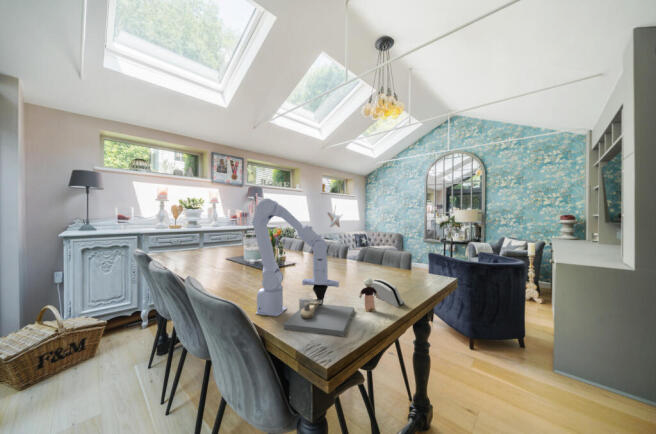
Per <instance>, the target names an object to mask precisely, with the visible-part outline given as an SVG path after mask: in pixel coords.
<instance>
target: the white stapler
mask: <svg viewBox="0 0 656 434" xmlns="http://www.w3.org/2000/svg"><path fill="white" fill-rule="evenodd" d="M372 281H373V283H372V285H371V287H373V288H374V289H375V290H376V291H377V293H378V295H379V297H376V298H377V299H379V300H381V301H382V302H385V303H387V304H390V305H392V306H393V307H396V308H397V307H399V306H400V305H404V306H405V305H406V302H405V300H404V299H402V298H401V295H400V292H399V290H398V287H396V286H395V285H394V284H392V283H391V282H389V281H387V280H385V279H379V278H378V279H377V278H376V279H374V280H372ZM373 295H374V297H375V296H376V295H375V294H374V293H373Z"/></svg>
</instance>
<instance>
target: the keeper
mask: <svg viewBox="0 0 656 434" xmlns="http://www.w3.org/2000/svg"><path fill="white" fill-rule="evenodd" d="M298 302H299V303H298V305H299V308H298V310H300V311H301V309H303V308H304V305H305V304H306V303H313V304H321V303H322V299H312V298H307V297H300V298H299V301H298Z"/></svg>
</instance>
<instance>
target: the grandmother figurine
mask: <svg viewBox="0 0 656 434" xmlns="http://www.w3.org/2000/svg"><path fill="white" fill-rule="evenodd" d="M373 281H374V280H373V279H372V278H371V277H367V278H365V279H364V280H363V283H364V284H363V285H365V287H364V288H362V289H361V290H360V293H359V295H358V297H359V298H360V299H361V298H362V296H364V308H363V309H364V311H365V312H367V313H369V312H370V311H371V312H376V307H375V298H377V297H379V295H378V293H377V291H376V290H375V289H374V288H373V287H371V285H372V283H373ZM373 293H374V294H375V295H376V297H375V296H373Z"/></svg>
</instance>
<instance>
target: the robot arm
mask: <svg viewBox="0 0 656 434" xmlns="http://www.w3.org/2000/svg"><path fill="white" fill-rule="evenodd" d="M273 217H276V218H277V217H278V218H280V219H283V220H284V221H285V222H286V223H288V224H289V225H290V226H291V227H292V228H293V229H294V230H295V231H296V232H297V236H298V238H300V240H302V242H304V243H305V244H306V245H307V246H308V247H311V250H312V252H313V256H312V278H306V279H305V278H304V279H302V286H313V287H312V290H313V292H314V294H315V297H317V299H322V303H321V304H319V305H322V304H323V305H324V299H325V295H326V291H328V287H335V288H339V286H340V281H339V280H333V279H329V277H328V275H329V273H328V257H327V256H328V252H327V251H328V242H327V241H326V240H325V239H324V238H322V235H321V234H318V233H317V232H316V231H315V230H314V227H313V226H309V225H308V224H302V223H301V222H300V221H299V220H298V219H297V218H296V217H295V216H294V215H293V214H292V212H290V211H289V210H288V209H287V208H286V207H284V206H283V205H281V204H279V203H278V202H277V201H275V200H272V199H271V198H263V199H260V202H258V204H257V205H256V206H255V213H254V217H253V220H252V226H253V230H254V235H255V239H256V243H257V247H258V250H259V255H260V259H261V264H262V271H261V274H262V281H261V284H262V287H261V288H260V289H259V290H258V291H257V295H256V312H255V314H256V315H263V316H273V317H279V316H280V315H281V314H282V313H283V312H285V311H286V310H287V309H288V307H286V306H284V299H283V297H284V296H283V293H284V292H283V290H284V289H283V288H284V287H283V286H282V282H283V281H284V274H283V272H282V271H281V270H280V267H279V264H278V263H277V261H276V258H275V253H274V249H273V244H272V239H271V237H270V232H269V228H268V225H269V222H271V220H272V219H273Z"/></svg>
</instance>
